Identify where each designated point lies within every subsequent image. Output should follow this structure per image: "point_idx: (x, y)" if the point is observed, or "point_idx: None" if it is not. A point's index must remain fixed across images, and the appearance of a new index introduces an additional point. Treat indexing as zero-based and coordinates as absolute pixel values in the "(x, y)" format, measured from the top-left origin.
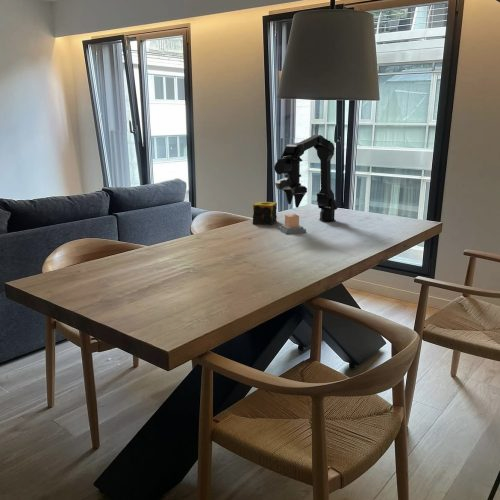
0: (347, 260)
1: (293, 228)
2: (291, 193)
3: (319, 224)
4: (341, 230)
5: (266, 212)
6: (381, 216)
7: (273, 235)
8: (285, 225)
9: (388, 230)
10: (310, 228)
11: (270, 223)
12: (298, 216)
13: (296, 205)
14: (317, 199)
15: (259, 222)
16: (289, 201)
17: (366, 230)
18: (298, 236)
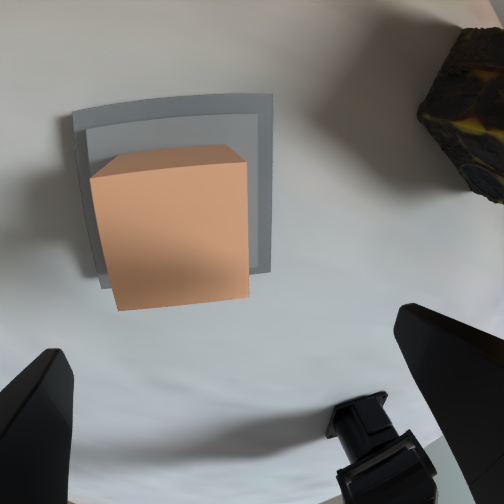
0: None
1: None
2: (489, 465)
3: (306, 386)
4: (146, 432)
5: (501, 96)
6: (317, 499)
7: (77, 11)
8: (209, 144)
9: (136, 499)
10: (226, 332)
11: (426, 109)
12: (116, 300)
13: (29, 378)
14: (418, 468)
15: (458, 54)
16: (420, 345)
17: (139, 476)
18: (7, 193)
